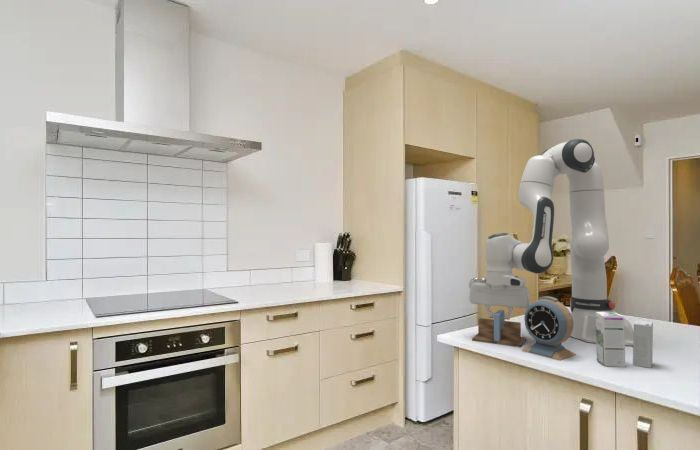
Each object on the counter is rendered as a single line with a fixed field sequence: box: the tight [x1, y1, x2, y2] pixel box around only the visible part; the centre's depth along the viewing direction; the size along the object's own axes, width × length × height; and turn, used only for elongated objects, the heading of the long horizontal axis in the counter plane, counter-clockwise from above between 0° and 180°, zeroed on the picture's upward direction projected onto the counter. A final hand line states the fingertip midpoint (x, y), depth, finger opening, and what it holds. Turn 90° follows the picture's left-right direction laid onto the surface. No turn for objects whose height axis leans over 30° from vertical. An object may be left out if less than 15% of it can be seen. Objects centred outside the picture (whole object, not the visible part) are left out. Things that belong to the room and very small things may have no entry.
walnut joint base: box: [471, 317, 527, 348], centre depth 145 cm, size 16×11×7 cm
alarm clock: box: [521, 295, 577, 361], centre depth 130 cm, size 14×10×18 cm
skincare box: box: [632, 319, 654, 369], centre depth 118 cm, size 6×4×12 cm
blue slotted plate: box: [493, 309, 506, 341], centre depth 145 cm, size 10×2×9 cm, turn 150°
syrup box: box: [595, 311, 627, 368], centre depth 119 cm, size 6×6×14 cm
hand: (499, 318), depth 145 cm, fingers open, 4 cm apart
